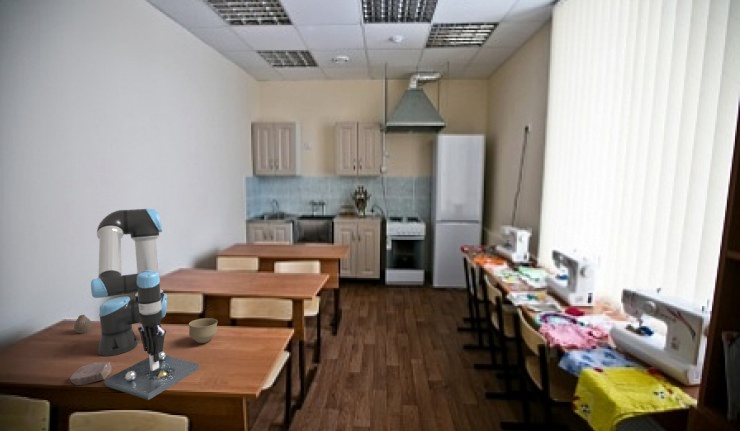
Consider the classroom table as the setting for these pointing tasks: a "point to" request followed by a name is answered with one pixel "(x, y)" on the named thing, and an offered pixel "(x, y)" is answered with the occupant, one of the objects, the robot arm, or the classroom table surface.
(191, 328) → the bowl
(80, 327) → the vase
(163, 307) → the robot arm
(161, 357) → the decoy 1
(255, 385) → the classroom table surface
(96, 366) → the stone
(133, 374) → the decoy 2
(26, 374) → the classroom table surface
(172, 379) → the plate
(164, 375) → the brass ball
